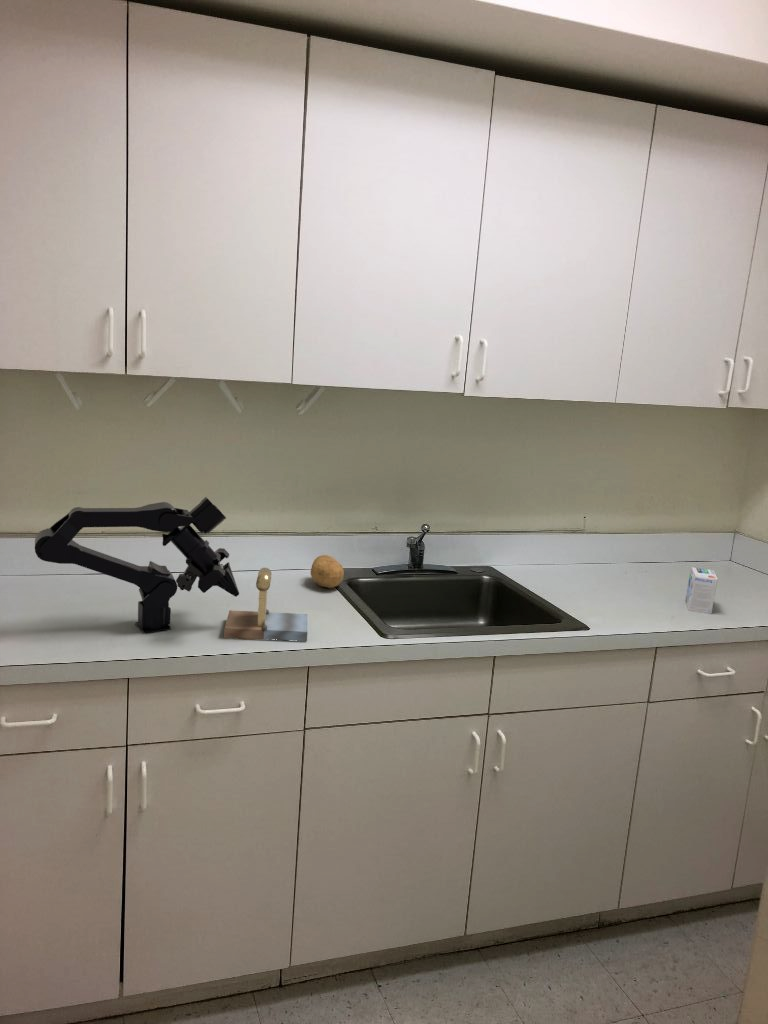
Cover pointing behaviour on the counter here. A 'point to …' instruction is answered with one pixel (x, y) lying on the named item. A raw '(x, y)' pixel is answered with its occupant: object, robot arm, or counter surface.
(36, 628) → the counter surface
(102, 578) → the counter surface
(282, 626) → the wood and metal base
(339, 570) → the potato
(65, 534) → the robot arm
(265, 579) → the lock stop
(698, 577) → the light bulb box
